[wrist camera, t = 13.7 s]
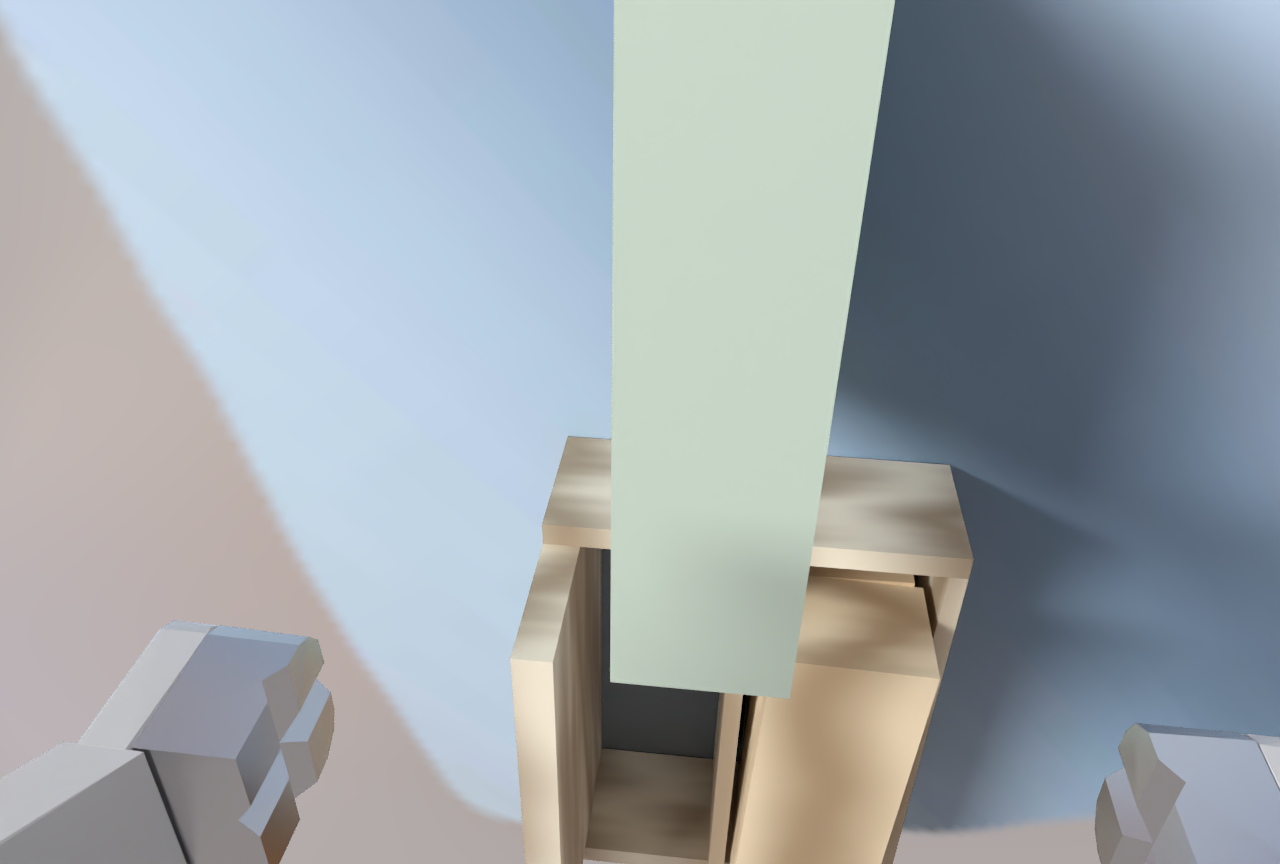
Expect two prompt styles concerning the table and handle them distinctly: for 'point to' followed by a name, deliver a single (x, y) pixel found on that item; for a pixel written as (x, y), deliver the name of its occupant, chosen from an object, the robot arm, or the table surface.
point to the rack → (704, 788)
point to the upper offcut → (837, 730)
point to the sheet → (729, 320)
